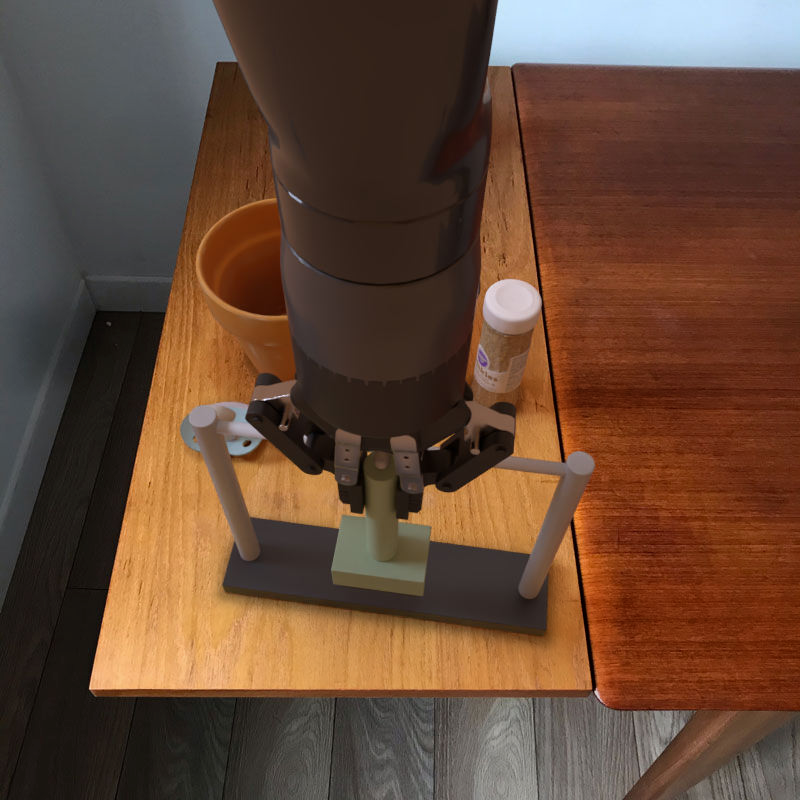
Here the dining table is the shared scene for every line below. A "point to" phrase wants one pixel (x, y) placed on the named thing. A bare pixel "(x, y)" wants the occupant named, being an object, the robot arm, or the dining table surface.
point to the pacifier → (234, 443)
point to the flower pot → (249, 284)
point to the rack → (447, 563)
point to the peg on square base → (381, 538)
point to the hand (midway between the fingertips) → (382, 501)
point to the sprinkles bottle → (504, 341)
